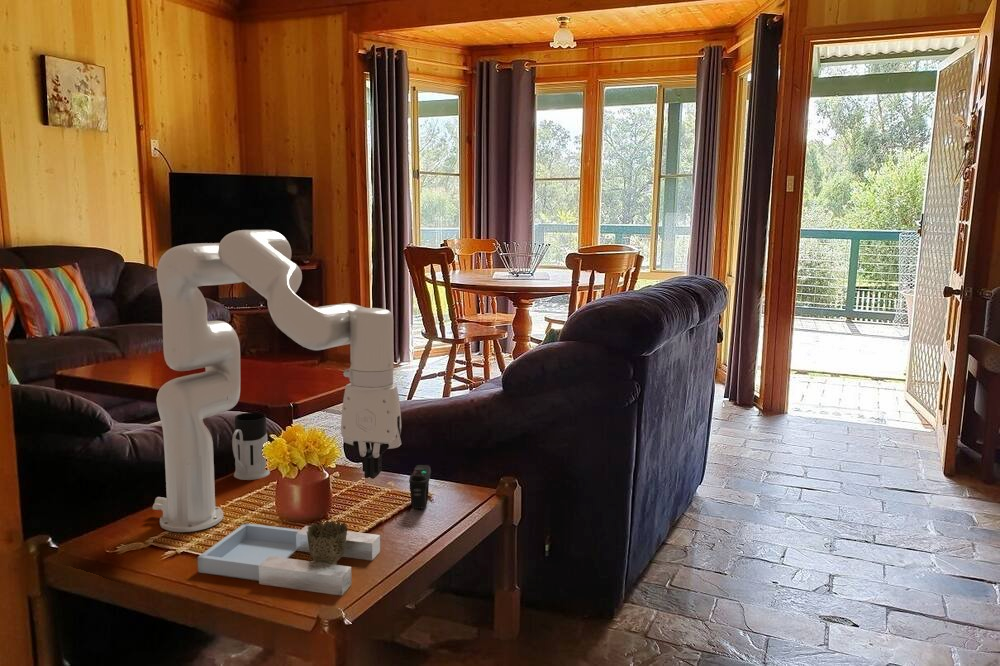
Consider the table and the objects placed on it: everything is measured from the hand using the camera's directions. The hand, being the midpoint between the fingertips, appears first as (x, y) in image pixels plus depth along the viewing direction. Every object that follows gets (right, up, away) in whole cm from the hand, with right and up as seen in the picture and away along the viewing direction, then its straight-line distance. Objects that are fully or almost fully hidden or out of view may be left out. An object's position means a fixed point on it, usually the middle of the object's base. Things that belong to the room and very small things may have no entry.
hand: (372, 475), depth 137 cm
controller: (+5, -14, +36) cm, 39 cm away
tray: (-24, -17, +8) cm, 31 cm away
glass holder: (-40, -10, +51) cm, 66 cm away
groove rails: (-10, -18, +5) cm, 22 cm away
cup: (-9, -19, +5) cm, 21 cm away
